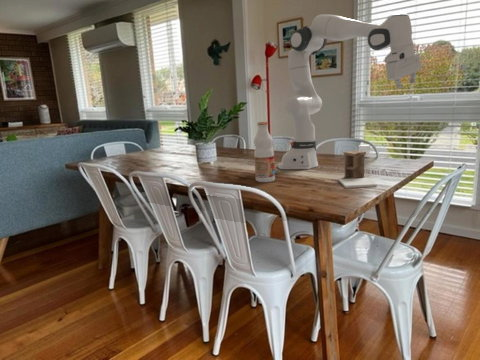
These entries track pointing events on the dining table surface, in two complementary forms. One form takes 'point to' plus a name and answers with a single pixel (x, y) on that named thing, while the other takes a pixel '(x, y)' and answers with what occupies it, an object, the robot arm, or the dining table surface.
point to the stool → (354, 164)
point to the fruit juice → (264, 154)
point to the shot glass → (365, 149)
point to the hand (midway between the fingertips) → (406, 85)
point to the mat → (357, 182)
